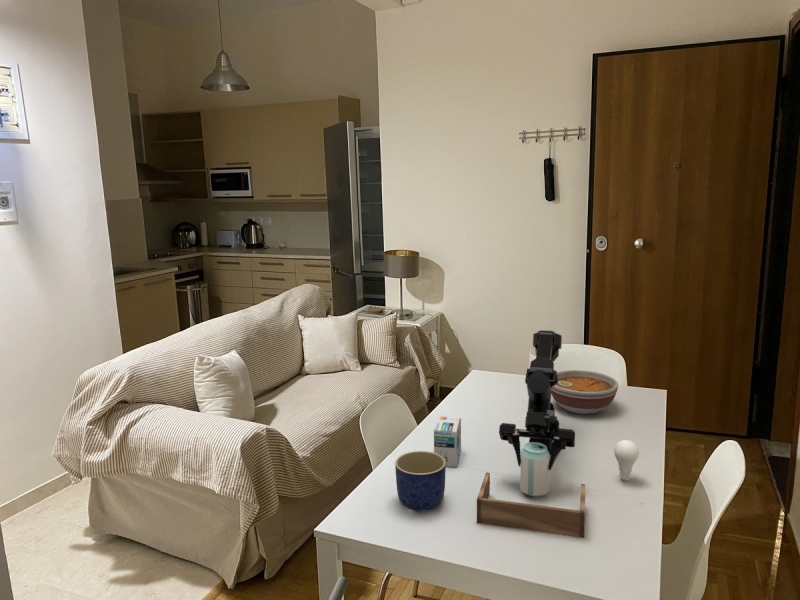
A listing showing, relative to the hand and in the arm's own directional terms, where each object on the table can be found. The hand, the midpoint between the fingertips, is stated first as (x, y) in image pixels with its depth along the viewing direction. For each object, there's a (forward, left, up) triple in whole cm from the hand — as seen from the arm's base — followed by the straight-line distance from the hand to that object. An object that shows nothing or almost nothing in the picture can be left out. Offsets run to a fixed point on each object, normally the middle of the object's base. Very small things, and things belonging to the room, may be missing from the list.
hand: (534, 467), depth 153 cm
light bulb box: (+5, -29, -8) cm, 31 cm away
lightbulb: (-25, +8, -8) cm, 28 cm away
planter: (+25, -14, -8) cm, 30 cm away
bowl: (-55, -32, -8) cm, 65 cm away
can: (-1, -1, -7) cm, 7 cm away
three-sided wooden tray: (+7, +6, -8) cm, 12 cm away
